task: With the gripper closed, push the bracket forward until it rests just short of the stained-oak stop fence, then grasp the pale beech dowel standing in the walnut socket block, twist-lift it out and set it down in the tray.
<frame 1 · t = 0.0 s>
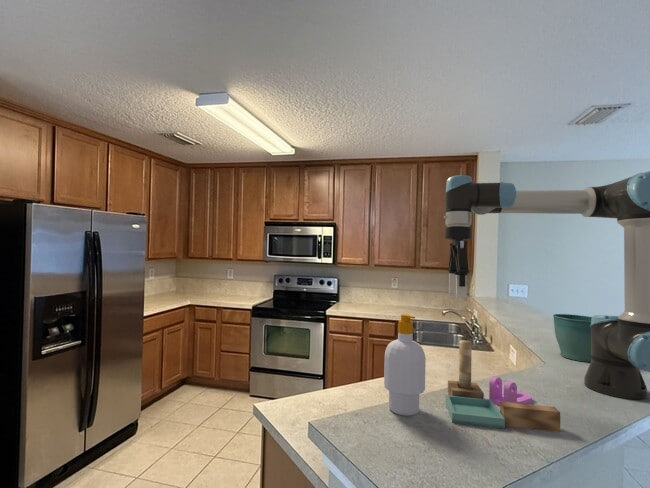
hand: (457, 295, 107), 28 cm above the worktop, fingers open, 13 cm apart
tray: (472, 414, 88), on the worktop
soap bottle: (403, 410, 89), on the worktop
socket block: (464, 399, 98), on the worktop
dowel: (465, 370, 98), in the socket block
bracket: (512, 403, 97), on the worktop
stop fence: (529, 426, 83), on the worktop
flower pot: (578, 358, 146), on the worktop
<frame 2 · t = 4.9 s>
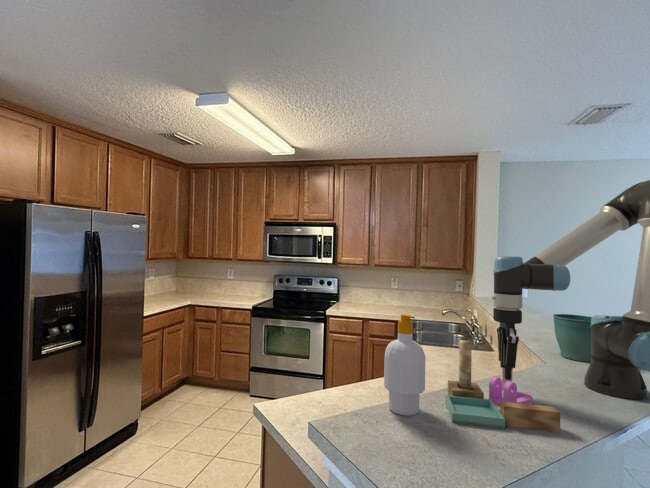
hand: (506, 389, 102), 2 cm above the worktop, fingers closed
bracket: (512, 403, 97), on the worktop, touching gripper
everything else where it was.
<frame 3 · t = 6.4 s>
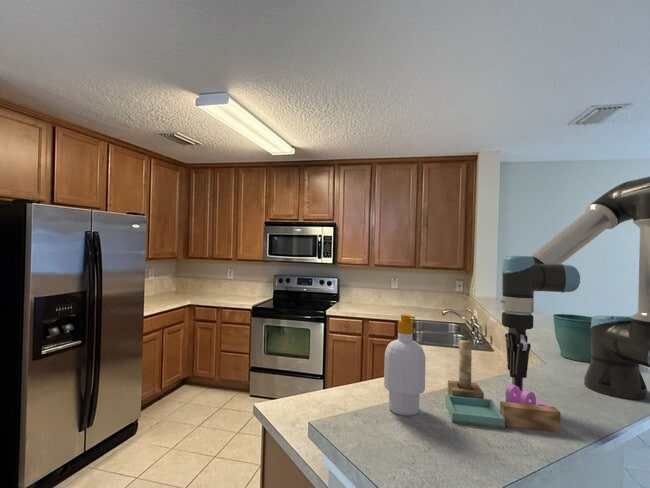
hand: (516, 400, 94), 2 cm above the worktop, fingers closed
bracket: (532, 414, 90), on the worktop, touching gripper
everything else where it was.
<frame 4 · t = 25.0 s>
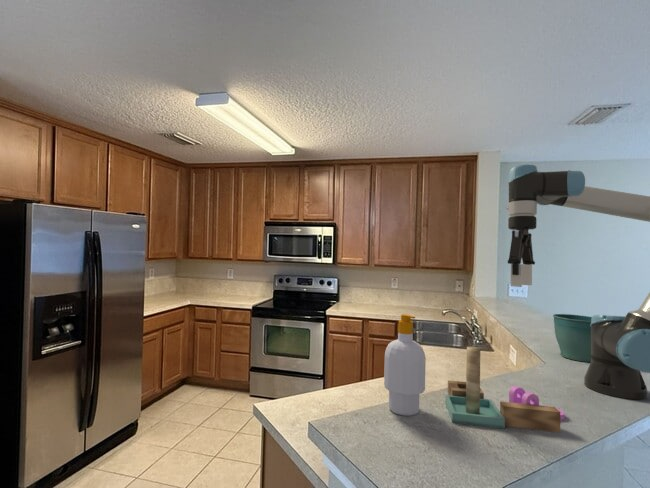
hand: (521, 285, 106), 32 cm above the worktop, fingers open, 13 cm apart
dowel: (473, 380, 88), in the tray, point 9 cm above the worktop
bracket: (539, 417, 88), on the worktop
everything else where it was.
at the end: dowel inside the target area on the tray (0.0 cm from its centre), point 8.6 cm above the tray's base; bracket inside the target area (3.7 cm from its centre), on the worktop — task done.
